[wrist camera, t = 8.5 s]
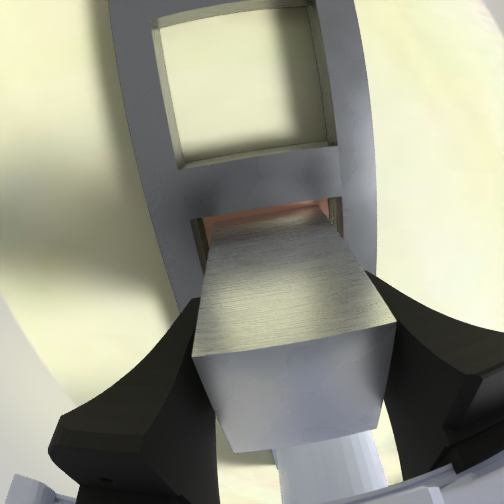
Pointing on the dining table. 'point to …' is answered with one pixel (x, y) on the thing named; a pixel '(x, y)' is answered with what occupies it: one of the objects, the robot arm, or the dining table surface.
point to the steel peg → (290, 333)
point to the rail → (253, 162)
